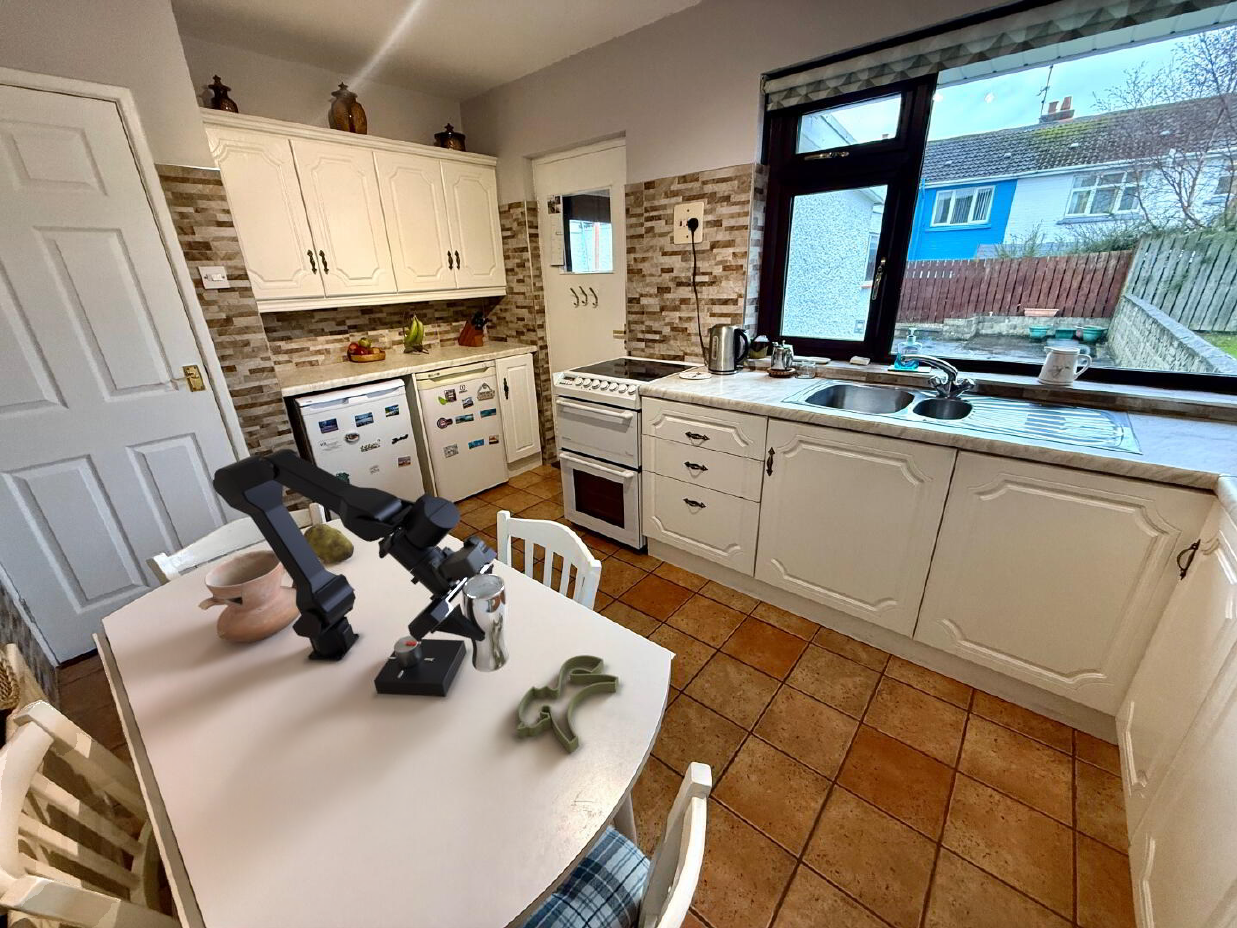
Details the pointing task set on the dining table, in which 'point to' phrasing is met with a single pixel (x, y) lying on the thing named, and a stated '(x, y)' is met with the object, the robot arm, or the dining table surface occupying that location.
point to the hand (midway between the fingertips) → (494, 624)
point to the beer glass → (487, 620)
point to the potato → (329, 543)
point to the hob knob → (407, 651)
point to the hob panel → (423, 670)
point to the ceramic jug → (251, 597)
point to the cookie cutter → (576, 677)
